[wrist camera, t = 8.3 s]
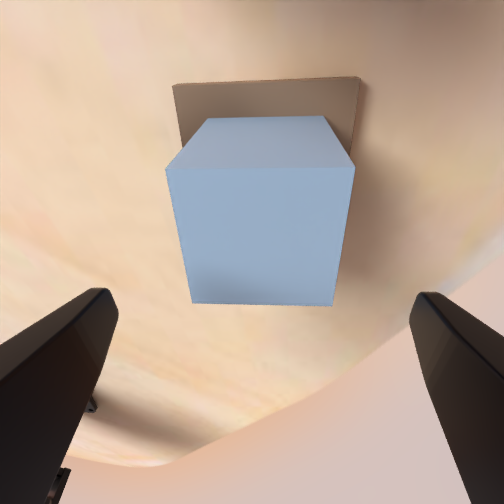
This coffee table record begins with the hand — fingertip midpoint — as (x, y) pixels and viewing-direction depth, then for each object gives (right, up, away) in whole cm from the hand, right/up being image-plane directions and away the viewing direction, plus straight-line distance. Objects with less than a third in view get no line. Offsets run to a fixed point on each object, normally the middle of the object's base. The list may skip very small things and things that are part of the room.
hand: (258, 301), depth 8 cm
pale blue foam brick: (0, +5, +7) cm, 9 cm away
